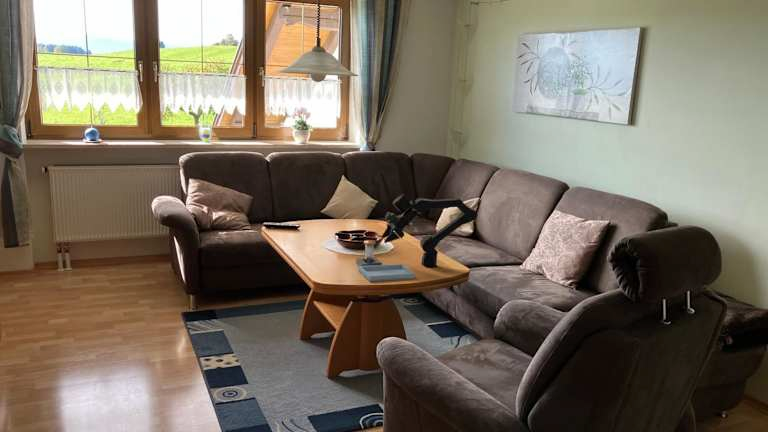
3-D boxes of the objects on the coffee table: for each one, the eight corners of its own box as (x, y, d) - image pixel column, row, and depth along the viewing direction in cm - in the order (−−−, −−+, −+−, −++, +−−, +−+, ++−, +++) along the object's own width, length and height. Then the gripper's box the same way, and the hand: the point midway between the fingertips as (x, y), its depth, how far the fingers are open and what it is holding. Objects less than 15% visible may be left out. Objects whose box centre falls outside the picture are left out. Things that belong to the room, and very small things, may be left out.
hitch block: (375, 262, 312) (375, 257, 311) (381, 267, 302) (381, 262, 302) (356, 263, 308) (356, 258, 308) (362, 268, 299) (362, 263, 299)
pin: (372, 263, 309) (373, 239, 306) (375, 266, 304) (376, 242, 301) (361, 264, 307) (362, 240, 305) (365, 267, 302) (366, 243, 299)
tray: (401, 268, 302) (402, 263, 301) (414, 278, 287) (414, 273, 287) (358, 271, 294) (358, 266, 294) (369, 281, 280) (369, 276, 279)
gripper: (392, 203, 310) (369, 224, 311) (398, 210, 292) (374, 233, 293) (407, 218, 313) (384, 239, 314) (414, 226, 295) (390, 249, 296)
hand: (383, 240), depth 304 cm, fingers open, 9 cm apart
